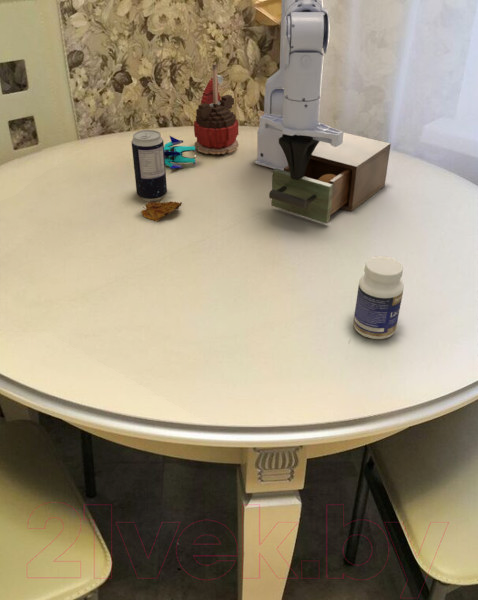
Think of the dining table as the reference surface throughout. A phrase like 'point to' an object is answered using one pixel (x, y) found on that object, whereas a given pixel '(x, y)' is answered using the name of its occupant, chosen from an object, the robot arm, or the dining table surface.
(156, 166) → the beverage can
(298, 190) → the drawer
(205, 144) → the cake
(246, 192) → the dining table surface
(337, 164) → the cabinet
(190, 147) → the figurine
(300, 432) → the dining table surface
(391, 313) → the pill bottle
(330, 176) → the egg
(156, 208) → the leaf
